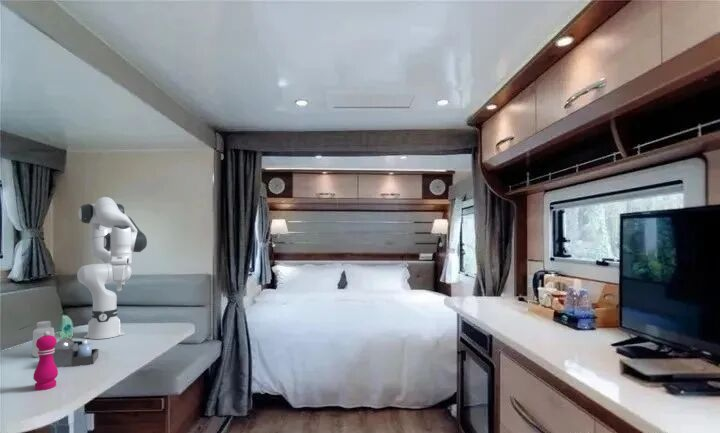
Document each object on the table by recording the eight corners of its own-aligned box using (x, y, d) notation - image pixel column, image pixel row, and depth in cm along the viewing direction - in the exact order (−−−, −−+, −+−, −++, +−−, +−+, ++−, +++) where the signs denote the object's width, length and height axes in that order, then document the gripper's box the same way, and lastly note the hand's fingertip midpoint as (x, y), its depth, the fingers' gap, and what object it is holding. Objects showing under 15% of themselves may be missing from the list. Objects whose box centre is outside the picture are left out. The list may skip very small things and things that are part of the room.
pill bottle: (42, 358, 194) (43, 324, 195) (27, 357, 196) (28, 323, 196) (58, 353, 202) (58, 320, 202) (43, 352, 204) (44, 319, 204)
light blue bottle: (79, 360, 190) (79, 339, 190) (92, 359, 192) (92, 338, 192) (76, 363, 186) (76, 342, 186) (90, 362, 187) (90, 341, 188)
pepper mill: (41, 384, 161) (42, 329, 161) (62, 383, 161) (63, 328, 162) (28, 391, 154) (29, 333, 154) (49, 390, 154) (50, 333, 155)
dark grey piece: (56, 360, 190) (57, 337, 190) (98, 356, 196) (98, 334, 196) (48, 368, 178) (48, 344, 179) (93, 364, 184) (93, 340, 185)
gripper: (116, 258, 212) (116, 287, 211) (110, 261, 193) (109, 292, 192) (131, 258, 214) (130, 286, 213) (126, 260, 195) (125, 291, 195)
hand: (120, 289), depth 203 cm, fingers open, 8 cm apart
